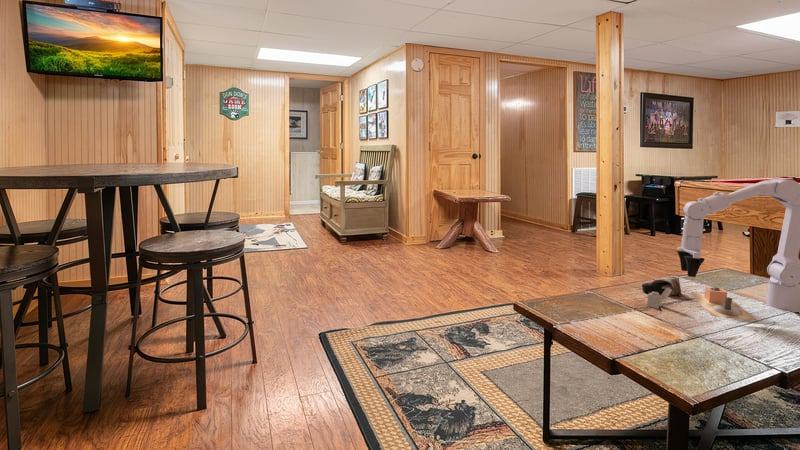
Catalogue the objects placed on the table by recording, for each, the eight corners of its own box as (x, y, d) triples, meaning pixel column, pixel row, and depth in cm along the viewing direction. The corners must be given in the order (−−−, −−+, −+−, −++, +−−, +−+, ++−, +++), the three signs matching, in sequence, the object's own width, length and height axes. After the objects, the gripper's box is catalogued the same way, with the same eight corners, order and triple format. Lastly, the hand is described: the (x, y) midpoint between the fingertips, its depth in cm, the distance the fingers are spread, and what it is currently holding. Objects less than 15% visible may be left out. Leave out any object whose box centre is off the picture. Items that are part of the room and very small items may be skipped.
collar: (720, 298, 159) (721, 288, 158) (725, 303, 154) (727, 292, 153) (704, 297, 160) (705, 286, 159) (709, 302, 155) (710, 291, 155)
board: (726, 298, 162) (728, 283, 161) (756, 322, 139) (759, 306, 139) (688, 295, 166) (690, 281, 165) (712, 318, 143) (714, 302, 142)
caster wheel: (640, 296, 173) (667, 292, 172) (653, 300, 162) (683, 296, 161) (636, 278, 174) (664, 275, 173) (650, 281, 162) (680, 277, 161)
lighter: (646, 305, 155) (648, 283, 154) (649, 304, 156) (651, 282, 155) (667, 312, 149) (669, 289, 148) (670, 311, 150) (672, 288, 149)
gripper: (673, 231, 164) (670, 267, 166) (685, 239, 150) (681, 278, 152) (695, 232, 162) (691, 268, 164) (709, 240, 148) (705, 279, 150)
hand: (688, 273), depth 158 cm, fingers open, 7 cm apart
